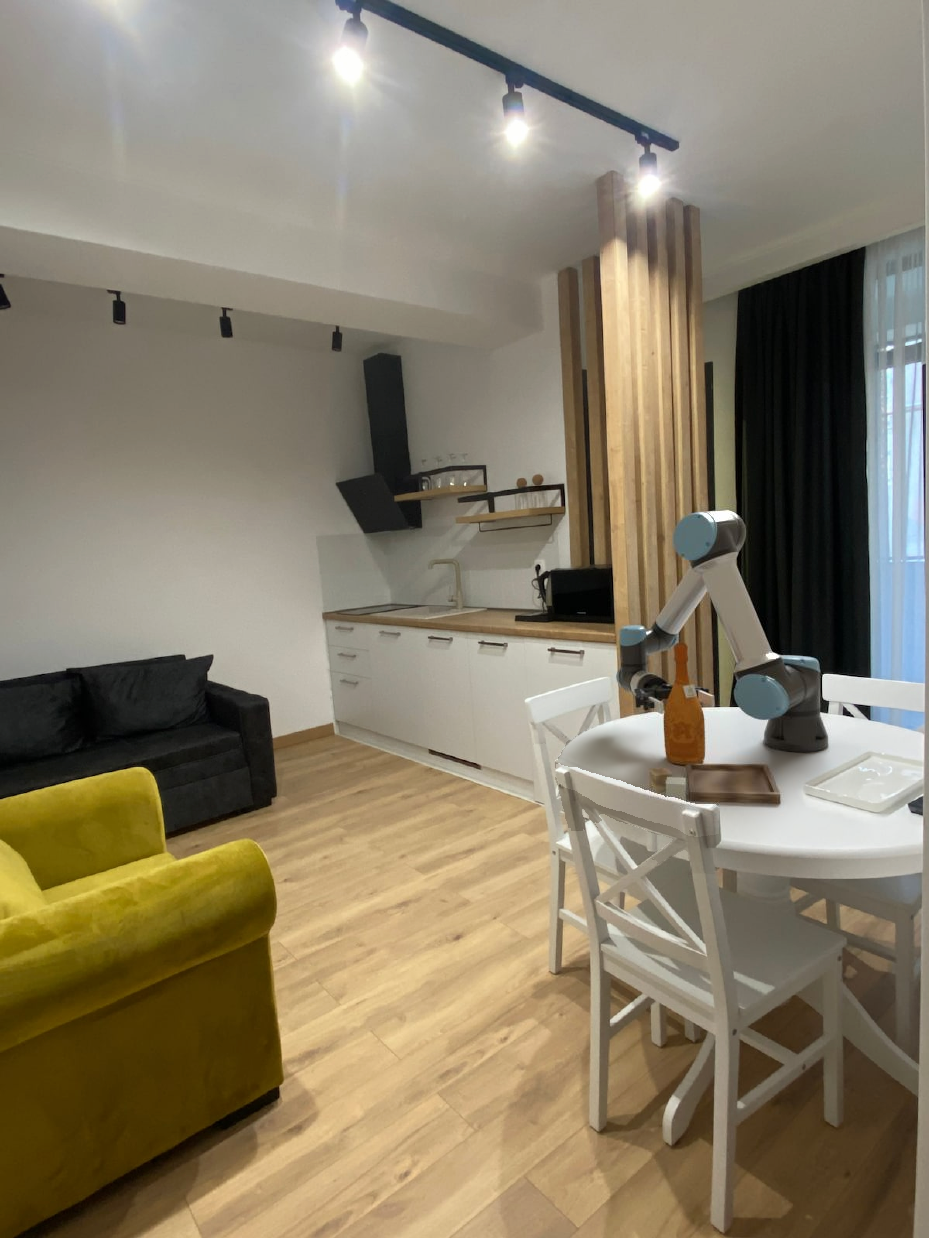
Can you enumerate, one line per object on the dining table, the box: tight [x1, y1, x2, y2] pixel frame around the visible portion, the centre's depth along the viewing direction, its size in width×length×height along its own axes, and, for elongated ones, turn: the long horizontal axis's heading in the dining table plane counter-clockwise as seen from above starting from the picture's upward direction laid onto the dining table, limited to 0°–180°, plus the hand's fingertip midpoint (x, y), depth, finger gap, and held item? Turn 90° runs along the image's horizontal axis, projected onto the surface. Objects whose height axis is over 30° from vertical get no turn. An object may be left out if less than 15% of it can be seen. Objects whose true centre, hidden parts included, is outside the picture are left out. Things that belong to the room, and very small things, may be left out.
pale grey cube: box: [665, 776, 688, 802], centre depth 151 cm, size 4×4×4 cm
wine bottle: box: [663, 642, 706, 766], centre depth 172 cm, size 10×10×30 cm
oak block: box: [648, 767, 674, 793], centre depth 157 cm, size 4×4×4 cm
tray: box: [686, 762, 782, 804], centre depth 155 cm, size 18×18×2 cm
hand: (687, 704), depth 170 cm, fingers open, 13 cm apart
